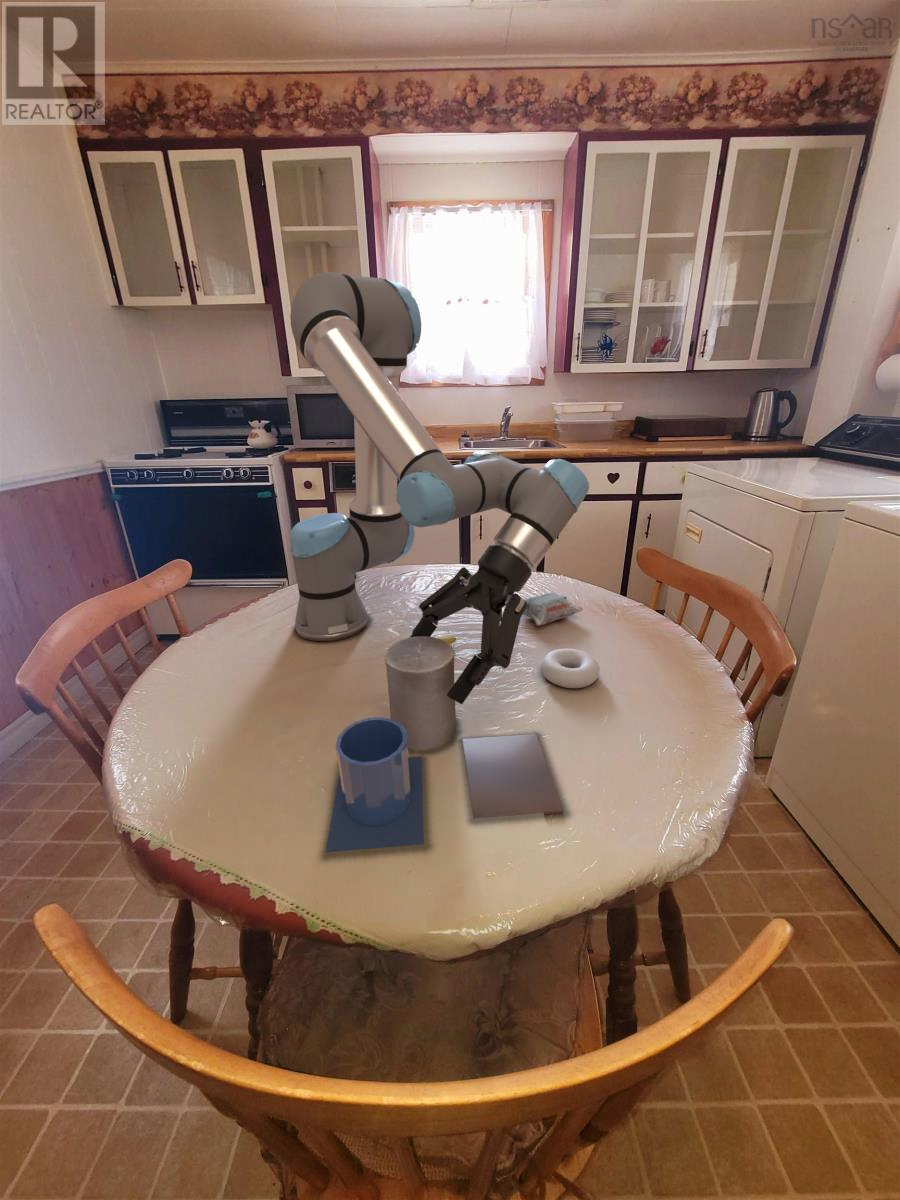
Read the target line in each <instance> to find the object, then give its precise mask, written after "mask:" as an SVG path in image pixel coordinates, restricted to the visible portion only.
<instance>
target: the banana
mask: <svg viewBox="0 0 900 1200" xmlns="http://www.w3.org/2000/svg"><path fill="white" fill-rule="evenodd" d="M438 638H439V639H442V640H443V641H446V642H447V643H448V644H450V645H452V644H454V643H455V642H456V641H457V637H455V636H445V637H438Z"/></svg>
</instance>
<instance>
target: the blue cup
mask: <svg viewBox="0 0 900 1200" xmlns="http://www.w3.org/2000/svg"><path fill="white" fill-rule="evenodd" d="M335 752H336V758H337V766H338V771H339V775H340V778H341V784H342V791H343V797H344V802H345V806H346V810H347V813H348V814H349V816H350V817H351V818H352V819H353V820H354V821H356V822H358V823H360V824H362V825H367V826H380V825H385V824H388V823H391V822H393V821H395V820H396V819H398V818H399V817H400V816H402V815H403V814H404V812H405V811H406V810H407V808H408V807H409V804H410V801H411V781H410V768H409V757H410V756H409V748H408V743H407V732H406V731H405V729H404V728H403V726H402V725H401V724H399V723H398V722H396V721H394V720H392V719H391V718H387V717H382V716H376V717H366V718H363V719H360V720H357V721H354V722H352V723H351V724H350V725H348V726H346V727H344V729H343V730H342V731H341V733H340V734H339V735H338V736H337V737H336V743H335Z"/></svg>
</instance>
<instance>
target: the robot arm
mask: <svg viewBox="0 0 900 1200" xmlns="http://www.w3.org/2000/svg"><path fill="white" fill-rule="evenodd" d="M290 307H291V308H290V313H289V315H290V316H289V318H290V328H291V332H292V335H293V340H294V342H295V344H296V346H297V348H298V350H299V352H300V354H301V355H302V357H303V358H304V359H305V361H306V362H307V363H308V365H309V366H310V367H311V368H312V369H313V370H316V371H318V372H322V374H323V375H324V376H325V378H326V379H327V381H328V382H329V383H330V385H331V386H332V388H333V389H334V391H335V392H336V393H337V395H338V396H339V398H340V399H341V400H342V402H343V403H344V405H345V406H346V408H347V409H348V411H349V412H350V414H351V415H352V416H353V433H354V434H353V435H354V464H355V465H354V467H355V468H354V469H355V497H354V498H353V500H351V501H350V503H349V505H348V507H349V517H347V516H346V515H344V514H342V513H337V512H327V513H325V514H316V515H312V516H310V517H307V518H304V519H301V520H300V521H298V522H297V523H295V525H294V526H293V527H292V528H291V530H290V533H289V537H290V554H291V555H292V561H293V566H294V572H295V577H296V583H297V588H298V595H299V598H298V603H297V609H296V614H295V630H296V633H297V635H299V636H300V637H301V638H303V639H305V640H309V641H313V642H333V641H338V640H343V639H347V638H349V637H352V636H354V635H356V634H358V633H360V632H361V631H362V630H365V628H366V627H367V625H368V623H369V622H368V620H369V619H368V612H367V610H366V607H365V605H364V603H363V601H362V599H361V596H360V595H359V593H358V591H357V587H356V581H355V580H356V578H357V573H359V572H363V571H366V570H369V569H373V568H375V567H379V566H381V565H384V564H390V563H394V562H395V561H397V560H399V559H401V558H403V557H405V556H406V555H407V554H408V553H409V552H410V551H411V549H412V548H413V545H414V541H415V527H416V528H428V527H432V526H433V527H434V526H441V525H444V524H447V523H448V522H451V521H454V520H457V519H461V518H464V517H467V516H472V515H475V514H480V513H483V512H486V511H490V510H493V509H498V510H501V511H503V512H505V513H507V514H510V516H509V517H508V518H507V519H506V521H505V522H504V523H503V525H502V526H501V528H500V529H499V531H498V532H497V533H496V535H495V536H494V537H493V543H491V544H489V545H488V546H487V548H486V549H485V551H484V552H483V554H482V555H481V556H480V558H479V559H478V560H477V566H478V568H477V569H478V570H477V571H475V573H474V574H473V573H472V572H471V571H470V570H469V569H467V568H466V567H465V566H463V567H461V568H460V569H459V570H458V572H457V573H456V574H455V575H454V576H453V577H452V578H451V579H449V580H448V581H447V582H446V583H445V584H443V585H442V586H441V587H439V588H438V589H437V590H435V592H433V593H432V594H430V595H429V596H428V597H426V598H425V599H424V600H423V601H421V602H420V603H419V605H418V608H419V610H421V612H422V614H421V615H422V616H421V618H420V620H419V621H418V622H417V624H416V625H415V627H414V628H413V630H412V632H411V635H410V636H409V638H410V637H417V636H427V637H432V636H433V634H434V633H435V631H436V630H437V628H438V625H439V622H440V621H442V620H443V619H446V618H448V617H450V616H452V615H454V614H456V613H458V612H460V611H462V610H464V609H466V608H467V609H470V608H473V609H474V610H476V611H479V612H480V613H481V615H482V625H481V641H480V642H481V643H480V652H478V653H477V654H474V655H473V657H472V658H471V659H470V661H469V662H468V663H467V665H466V666H465V667H464V669H463V670H462V672H461V673H460V675H459V676H458V678H457V679H456V681H455V684H454V685H453V686H452V688H451V689H450V691H449V692H448V694H447V696H448V697H449V698H451V699H453V700H455V703H456V702H457V703H458V704H460V705H463V704H464V703H465V701H466V700H467V699H468V697H469V696H470V694H471V693H472V691H473V689H474V688H475V687H476V686H479V685H481V684H482V682H483V681H484V680H485V678H486V677H487V675H488V674H489V672H490V671H491V670H492V668H494V667H500V668H502V669H507V668H508V667H509V666H510V664H511V659H512V655H513V651H514V647H515V643H516V639H517V635H518V630H519V628H520V627H519V626H520V622H521V618H522V616H523V613H524V611H525V609H526V607H527V602H526V601H524V600H525V599H524V598H522V597H521V595H519V594H518V593H519V592H520V591H521V590H522V589H523V588H524V586H525V585H526V583H527V582H528V581H529V579H530V578H531V577H532V575H533V573H532V572H533V571H532V570H533V569H537V567H538V566H539V564H540V563H541V562H542V560H543V559H544V557H545V556H546V555H547V553H548V552H549V550H550V549H551V547H552V546H553V544H554V543H555V541H556V540H557V539H558V537H559V535H560V534H561V532H562V531H563V530H564V528H565V527H566V526H567V524H568V523H569V522H570V520H571V519H572V518H573V516H574V514H577V513H578V511H579V507H580V506H581V504H582V503H583V501H584V499H585V498H586V496H587V494H588V493H589V490H590V483H589V480H588V477H587V476H586V474H585V473H584V472H583V471H582V470H581V469H580V468H579V467H577V466H576V465H575V464H574V463H571V462H570V461H567V460H566V459H562V458H557V459H556V458H553V459H550V460H549V461H548V462H547V463H546V464H545V465H544V466H542V468H541V470H540V469H538V468H532V467H529V466H527V465H525V464H522V463H520V462H517V461H514V460H512V459H509V458H507V457H505V456H503V455H500V454H499V453H495V452H489V451H486V450H477V451H474V452H472V454H471V456H468V457H467V458H466V459H465V461H464V462H463V463H459V464H455V465H453V464H452V463H451V462H450V461H449V459H448V458H447V457H446V455H445V454H444V453H443V452H442V450H441V449H440V447H439V446H438V445H437V443H436V442H435V441H434V439H433V438H432V437H431V435H430V434H429V432H428V431H427V430H426V428H425V427H424V426H423V424H422V423H421V422H420V420H419V419H418V418H417V416H416V415H415V413H414V412H413V411H412V409H411V408H410V407H409V406H408V404H407V403H406V401H405V400H404V399H403V397H402V395H400V393H399V385H400V383H399V380H400V378H399V377H400V376H401V373H403V372H404V371H405V370H406V369H407V367H408V355H410V354H411V353H413V352H414V351H415V350H416V349H417V346H418V345H417V344H419V342H420V340H421V335H422V317H421V312H420V309H419V305H418V302H417V300H416V298H415V297H413V294H412V292H411V291H410V290H409V288H407V286H405V285H403V284H402V283H400V282H397V281H394V280H389V279H387V278H383V277H378V278H377V277H370V276H362V275H355V274H345V273H339V272H334V271H333V272H332V271H324V272H318V273H316V274H314V275H312V276H310V277H308V278H307V279H306V280H305V281H304V282H302V283H301V285H300V286H299V288H298V289H297V290H296V292H295V294H294V296H293V299H292V302H291V306H290ZM503 608H504V609H503Z"/></svg>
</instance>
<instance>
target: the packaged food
mask: <svg viewBox="0 0 900 1200" xmlns="http://www.w3.org/2000/svg"><path fill="white" fill-rule="evenodd" d="M567 598H568V597H567V596H564V595H562V594H559V593H554V592H548V593H543V594H540V595H536V596H531V597H528V598H525V599H523V600H524V601H526V602H527V607H526V609H525V611H524V613H523V614H522V616H526V617H527V618H530V619H531V620H533V621H534V623H535V625H536V626H537V627H538V626H541V625H543V626H544V625H547V624H550V623H552V622H554V621H559V620H562V619H564V618H567V617H571V616H574V615H575V614H578V613H581V612H582V611H583V607H582V606H578V605H575V604H574V603H572V602H571V601H570V600H569V599H567Z"/></svg>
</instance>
